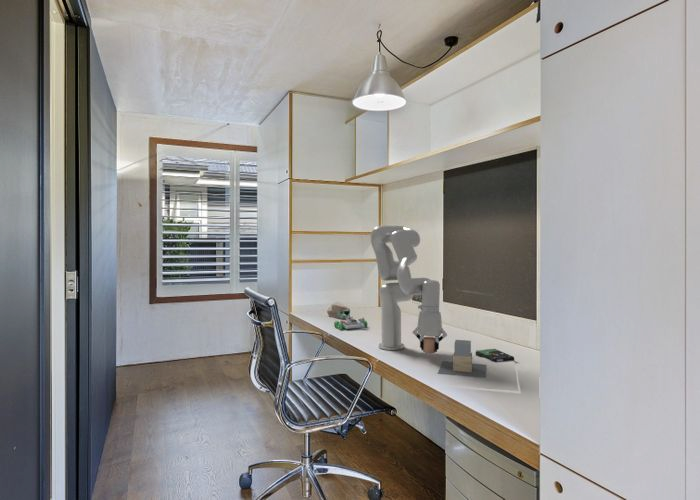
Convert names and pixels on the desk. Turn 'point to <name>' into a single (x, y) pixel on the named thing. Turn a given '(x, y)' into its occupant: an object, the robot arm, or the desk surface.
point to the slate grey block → (462, 348)
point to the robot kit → (349, 322)
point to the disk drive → (494, 355)
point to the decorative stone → (337, 310)
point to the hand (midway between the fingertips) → (429, 349)
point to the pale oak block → (462, 363)
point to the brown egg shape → (429, 344)
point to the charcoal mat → (477, 371)
